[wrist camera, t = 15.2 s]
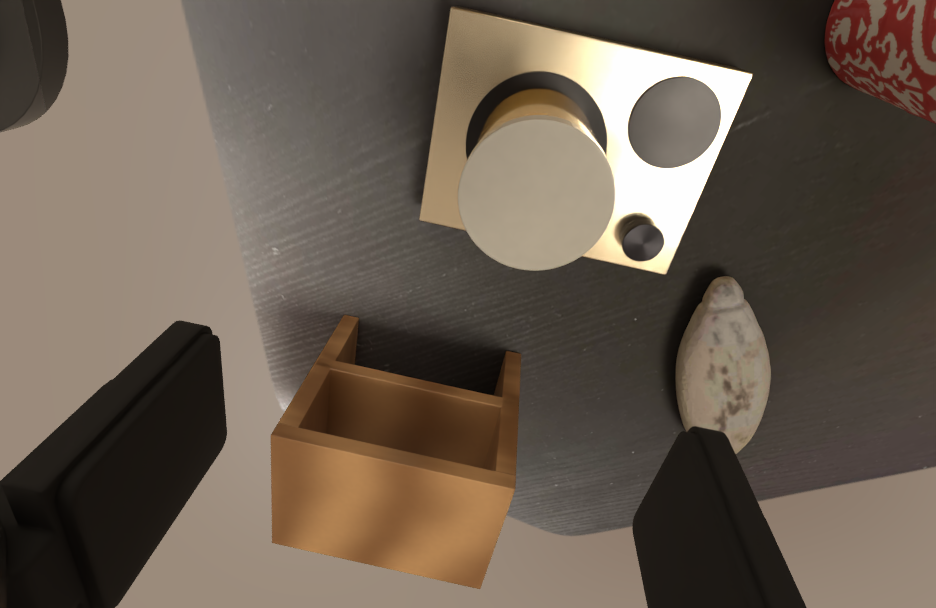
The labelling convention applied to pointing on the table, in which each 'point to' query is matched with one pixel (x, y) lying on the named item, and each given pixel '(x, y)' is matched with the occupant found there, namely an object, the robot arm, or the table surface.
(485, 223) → the jar
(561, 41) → the hob
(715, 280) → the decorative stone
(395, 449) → the shelf
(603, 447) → the table surface
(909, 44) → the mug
